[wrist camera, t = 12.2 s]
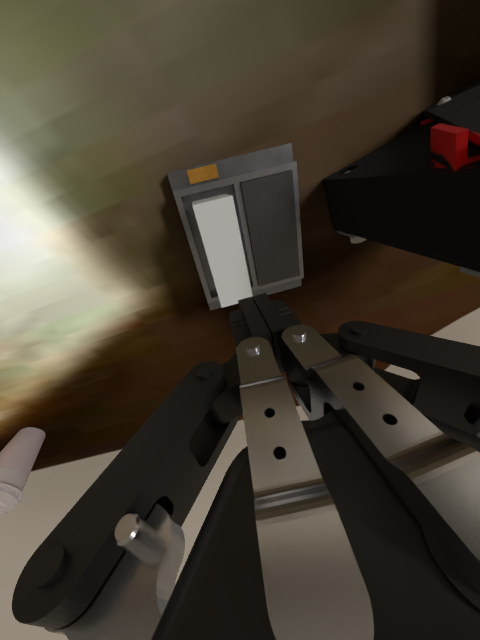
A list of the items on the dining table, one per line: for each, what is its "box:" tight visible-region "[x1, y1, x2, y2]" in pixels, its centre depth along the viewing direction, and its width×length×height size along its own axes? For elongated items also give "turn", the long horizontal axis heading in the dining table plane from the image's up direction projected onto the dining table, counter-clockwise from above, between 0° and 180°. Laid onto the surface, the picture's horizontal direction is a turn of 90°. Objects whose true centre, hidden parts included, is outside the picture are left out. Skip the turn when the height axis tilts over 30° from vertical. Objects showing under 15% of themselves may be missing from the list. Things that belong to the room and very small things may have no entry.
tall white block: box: [192, 194, 253, 308], centre depth 24 cm, size 10×4×6 cm, turn 12°
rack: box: [167, 143, 304, 311], centre depth 27 cm, size 16×13×3 cm
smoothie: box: [0, 427, 46, 514], centre depth 32 cm, size 6×6×14 cm
